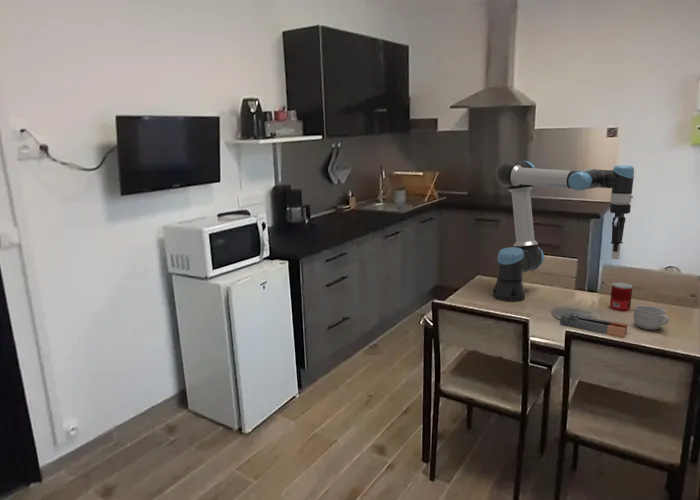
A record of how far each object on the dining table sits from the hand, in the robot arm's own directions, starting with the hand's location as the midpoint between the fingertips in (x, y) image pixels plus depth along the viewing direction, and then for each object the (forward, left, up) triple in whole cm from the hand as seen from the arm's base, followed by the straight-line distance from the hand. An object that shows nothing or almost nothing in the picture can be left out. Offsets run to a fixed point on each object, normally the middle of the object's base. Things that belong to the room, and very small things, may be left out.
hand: (615, 258), depth 215 cm
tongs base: (-1, -24, -24) cm, 34 cm away
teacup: (+17, -10, -25) cm, 32 cm away
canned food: (+2, +9, -25) cm, 26 cm away
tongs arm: (+1, -22, -24) cm, 33 cm away
